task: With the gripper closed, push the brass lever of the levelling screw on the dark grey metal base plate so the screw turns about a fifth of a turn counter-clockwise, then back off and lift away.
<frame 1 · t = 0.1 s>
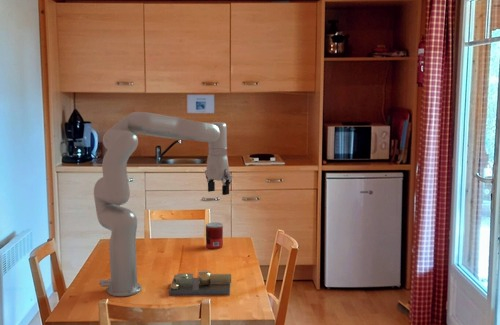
hand: (218, 192, 237), 31 cm above the table, tool pointing down, fingers open, 9 cm apart
canned food: (214, 247, 267), on the table
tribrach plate: (200, 288, 213), on the table
lever handle: (214, 277, 213), point 5 cm above the table, hinge at 0.0°
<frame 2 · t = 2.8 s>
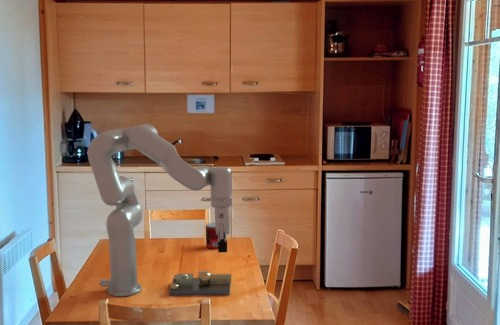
hand: (222, 251, 204), 17 cm above the table, tool pointing down, fingers closed
nothing on the table moved.
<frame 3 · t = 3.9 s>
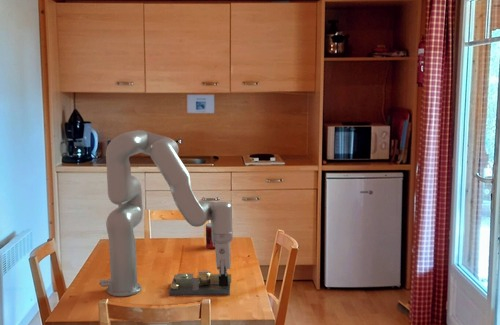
hand: (223, 285, 206), 4 cm above the table, tool pointing down, fingers closed
nothing on the table moved.
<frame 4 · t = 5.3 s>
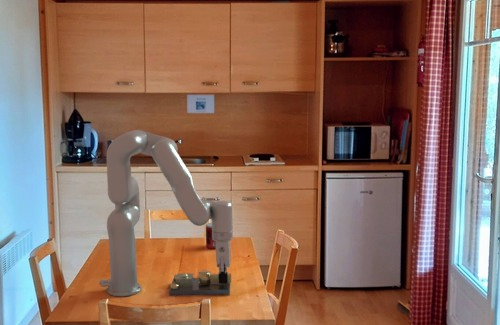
hand: (223, 282, 211), 3 cm above the table, tool pointing down, fingers closed
lever handle: (214, 276, 213), point 5 cm above the table, hinge at 2.2°, touching gripper
everything else where it was.
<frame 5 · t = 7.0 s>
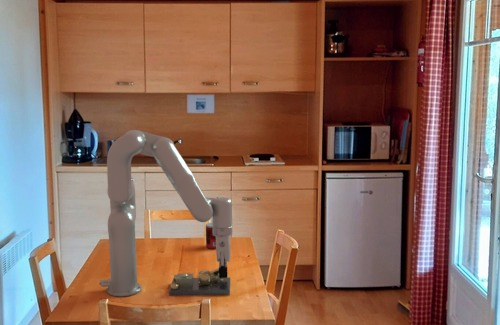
hand: (223, 277, 217), 3 cm above the table, tool pointing down, fingers closed
lever handle: (211, 274, 216), point 5 cm above the table, hinge at 50.8°, touching gripper
everything else where it was.
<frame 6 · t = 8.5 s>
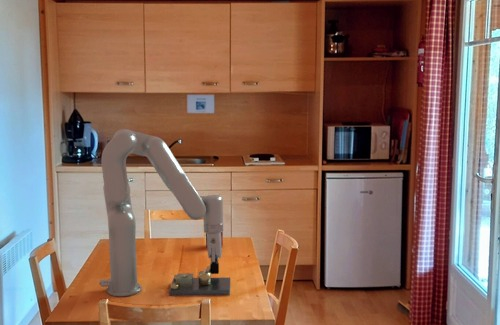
hand: (214, 273, 221), 3 cm above the table, tool pointing down, fingers closed
lever handle: (206, 273, 217), point 5 cm above the table, hinge at 82.6°, touching gripper
everything else where it was.
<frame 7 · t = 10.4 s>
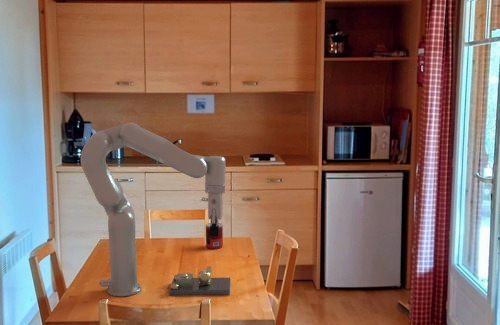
hand: (214, 235, 217), 19 cm above the table, tool pointing down, fingers closed
lever handle: (206, 273, 217), point 5 cm above the table, hinge at 82.7°
everything else where it was.
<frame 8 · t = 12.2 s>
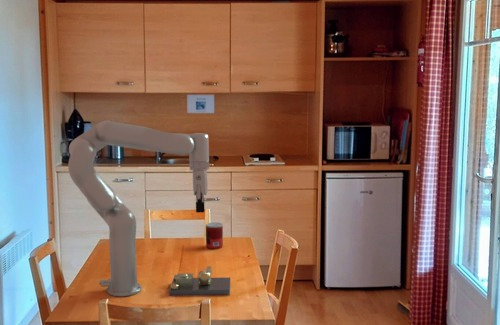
hand: (200, 211, 220), 27 cm above the table, tool pointing down, fingers closed
nothing on the table moved.
at the end: lever handle at +83° (first picture: +0°); the gripper is holding nothing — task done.
